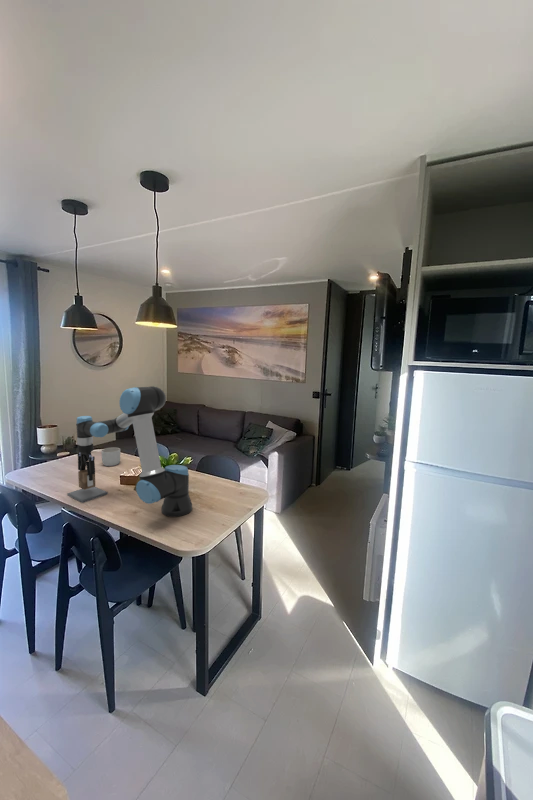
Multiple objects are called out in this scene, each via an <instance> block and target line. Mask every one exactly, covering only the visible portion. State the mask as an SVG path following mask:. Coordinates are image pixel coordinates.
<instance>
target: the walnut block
mask: <svg viewBox="0 0 533 800" xmlns="http://www.w3.org/2000/svg"><path fill="white" fill-rule="evenodd" d="M77 474H78V488H80V489H84V490H85V489H89V488H92V487H96V473H95V474H93V485H92V486H89V487H88V485H87V475H88V472H87V468H86V470H82V471H80V470H78V473H77Z"/></svg>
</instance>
